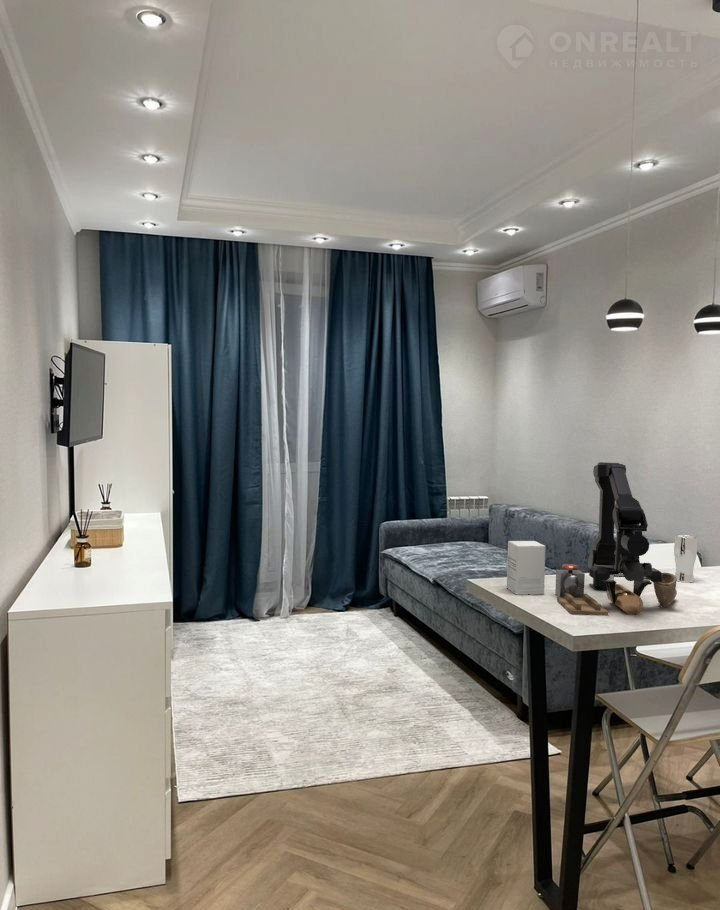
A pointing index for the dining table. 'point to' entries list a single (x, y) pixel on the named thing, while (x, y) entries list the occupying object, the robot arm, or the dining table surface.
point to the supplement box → (526, 567)
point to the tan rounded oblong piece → (627, 600)
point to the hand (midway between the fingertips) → (624, 604)
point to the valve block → (569, 581)
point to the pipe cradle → (582, 605)
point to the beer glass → (685, 557)
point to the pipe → (666, 589)
